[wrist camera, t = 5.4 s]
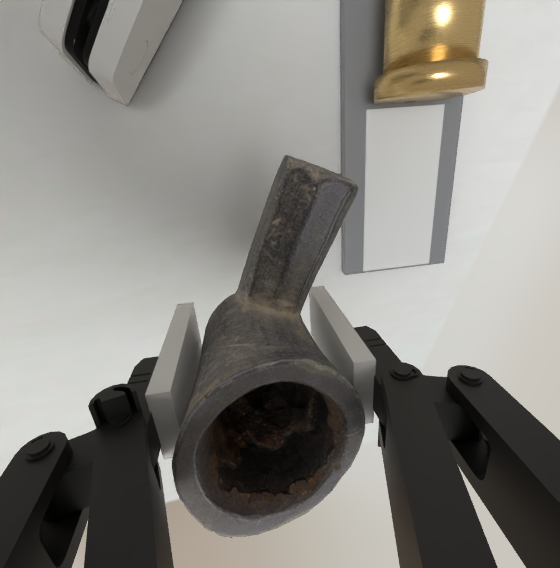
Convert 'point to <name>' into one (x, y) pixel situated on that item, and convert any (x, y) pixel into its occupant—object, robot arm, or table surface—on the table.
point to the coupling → (431, 51)
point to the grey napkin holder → (108, 38)
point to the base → (391, 157)
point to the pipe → (271, 375)
